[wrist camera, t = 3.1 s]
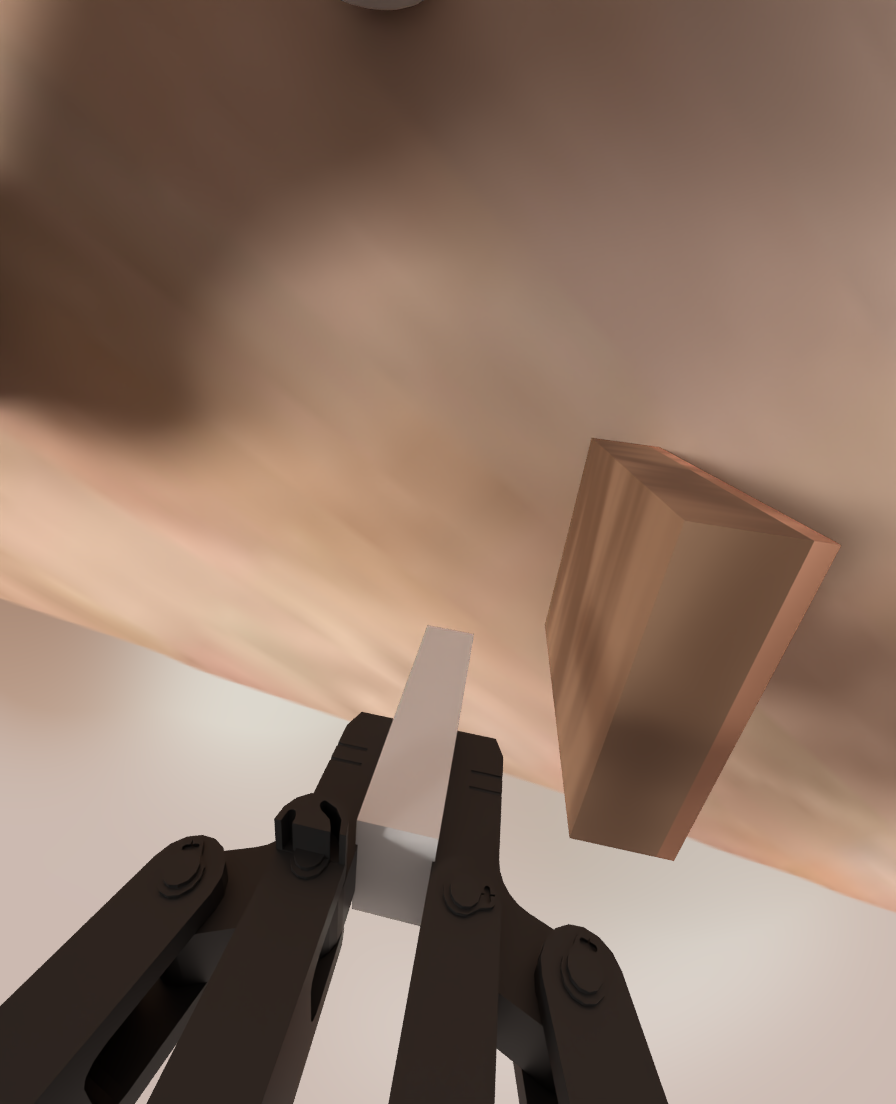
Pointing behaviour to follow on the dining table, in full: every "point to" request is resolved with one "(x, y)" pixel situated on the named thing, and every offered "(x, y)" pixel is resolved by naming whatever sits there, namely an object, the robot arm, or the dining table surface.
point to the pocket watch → (383, 4)
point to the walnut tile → (665, 638)
